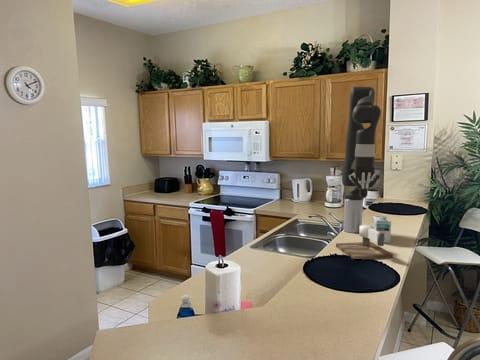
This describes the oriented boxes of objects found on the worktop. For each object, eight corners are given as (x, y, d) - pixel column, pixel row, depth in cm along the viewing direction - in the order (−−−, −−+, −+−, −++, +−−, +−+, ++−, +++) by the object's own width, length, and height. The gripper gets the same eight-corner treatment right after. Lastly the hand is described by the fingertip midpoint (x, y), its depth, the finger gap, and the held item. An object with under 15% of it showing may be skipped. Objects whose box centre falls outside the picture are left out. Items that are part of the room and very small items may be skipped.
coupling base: (335, 246, 159) (336, 234, 158) (370, 244, 161) (371, 233, 160) (353, 259, 141) (354, 246, 140) (392, 257, 143) (393, 244, 143)
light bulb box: (390, 243, 163) (391, 221, 162) (375, 242, 165) (376, 220, 163) (385, 237, 174) (386, 216, 172) (371, 236, 175) (372, 215, 174)
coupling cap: (356, 235, 157) (357, 224, 157) (369, 234, 158) (369, 223, 158) (375, 246, 141) (375, 234, 140) (389, 245, 142) (389, 233, 141)
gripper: (352, 156, 136) (351, 199, 138) (385, 155, 138) (383, 198, 140) (345, 155, 144) (344, 196, 146) (375, 154, 145) (374, 195, 147)
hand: (363, 197), depth 143 cm, fingers closed
